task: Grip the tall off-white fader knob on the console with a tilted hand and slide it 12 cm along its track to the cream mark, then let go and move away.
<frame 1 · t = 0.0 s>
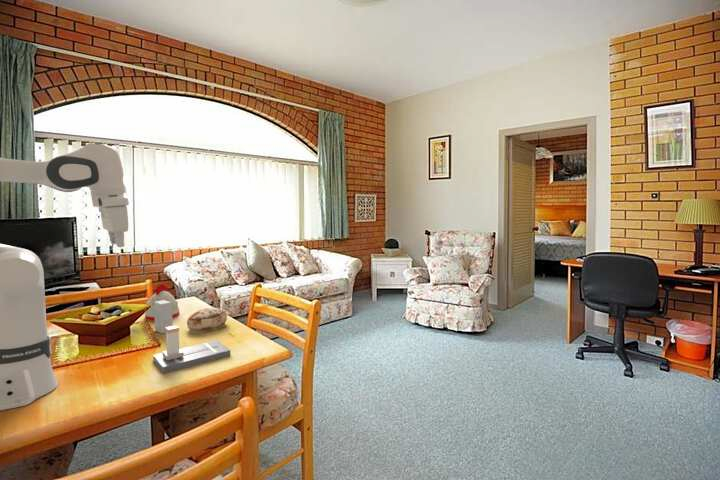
hand: (117, 245, 113), 39 cm above the table, tool pointing down, fingers open, 8 cm apart
trinket box: (207, 328, 155), on the table
skincare box: (163, 331, 151), on the table
fader console: (192, 358, 125), on the table
fader knob: (172, 341, 120), point 7 cm above the table, slide at 0.0 cm
kitchen timer: (162, 316, 170), on the table
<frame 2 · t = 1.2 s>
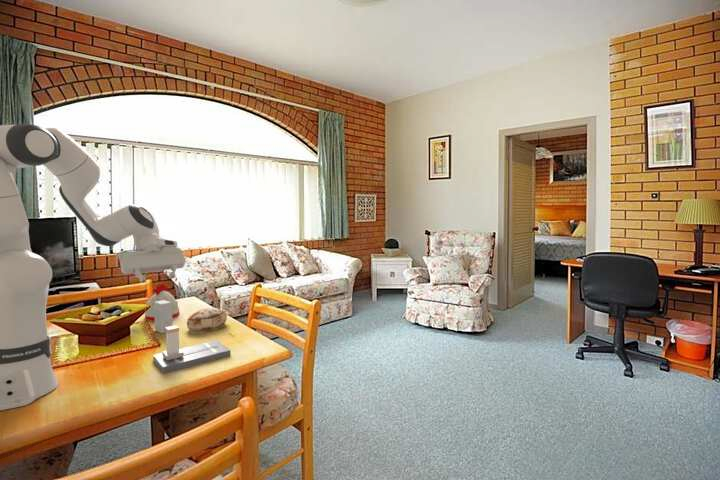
hand: (158, 279, 129), 25 cm above the table, tool tilted 45°, fingers open, 8 cm apart
nothing on the table moved.
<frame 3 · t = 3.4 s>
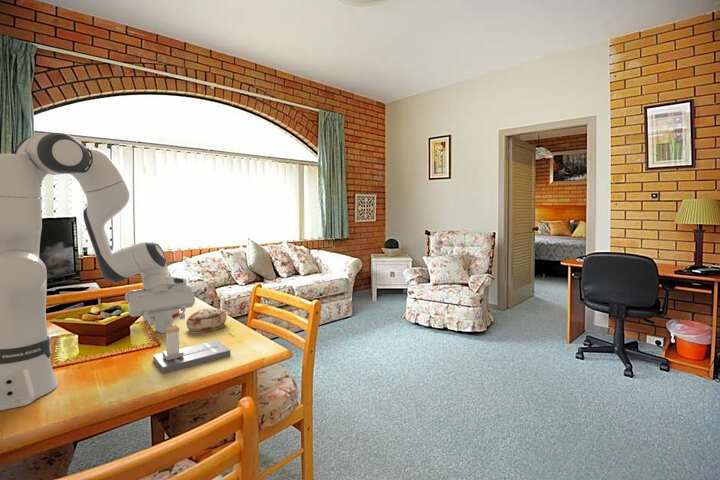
hand: (167, 321, 123), 13 cm above the table, tool tilted 45°, fingers open, 8 cm apart
nothing on the table moved.
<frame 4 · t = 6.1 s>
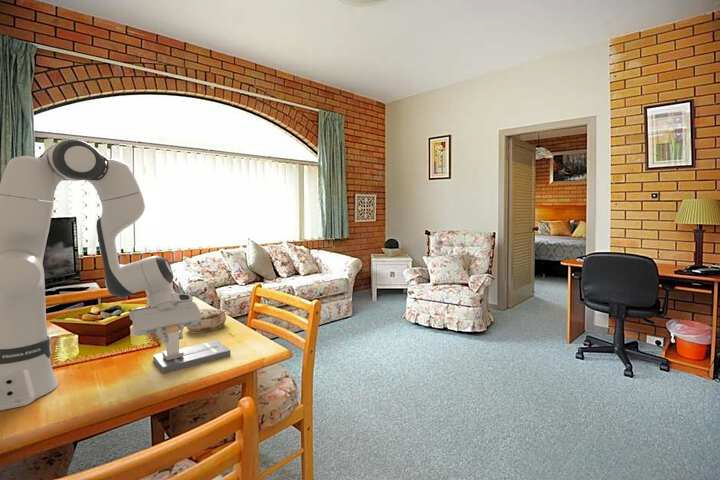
hand: (173, 340, 119), 8 cm above the table, tool tilted 45°, fingers closed on fader knob, 3 cm apart
fader knob: (172, 341, 120), point 7 cm above the table, slide at 0.0 cm, touching gripper
everything else where it was.
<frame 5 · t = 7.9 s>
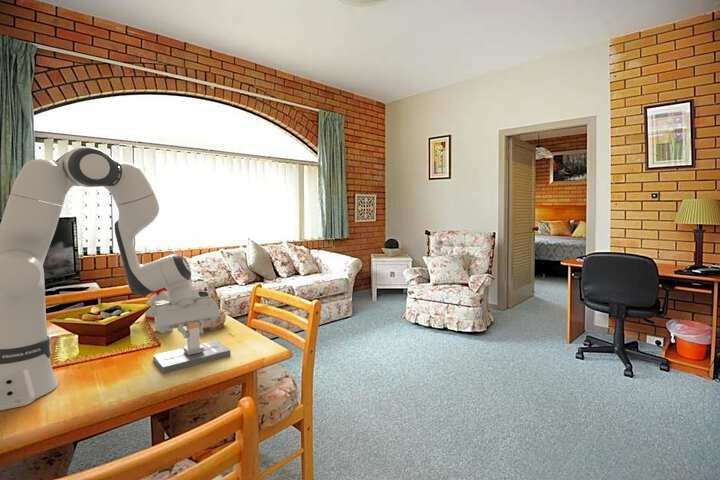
hand: (193, 335, 124), 8 cm above the table, tool tilted 45°, fingers closed on fader knob, 3 cm apart
fader knob: (193, 337, 124), point 7 cm above the table, slide at 6.4 cm, touching gripper
everything else where it was.
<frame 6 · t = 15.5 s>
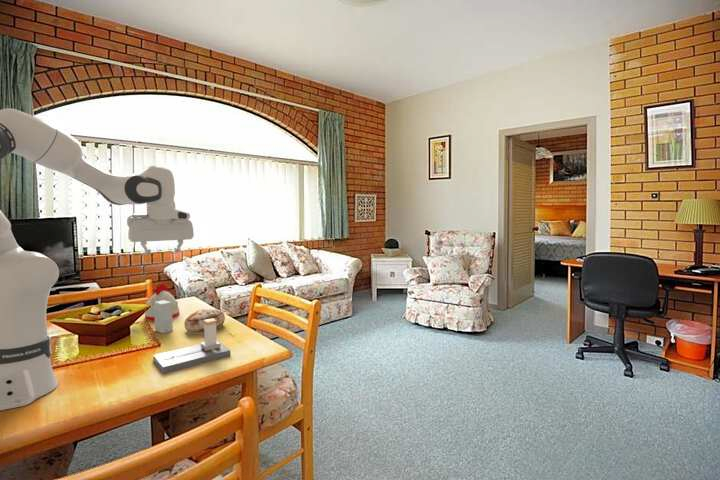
hand: (162, 253, 130), 34 cm above the table, tool pointing down, fingers open, 8 cm apart
fader knob: (210, 333, 128), point 7 cm above the table, slide at 12.1 cm
at the end: fader knob slide at 12.1 cm; trinket box moved 1.4 cm from its start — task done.
